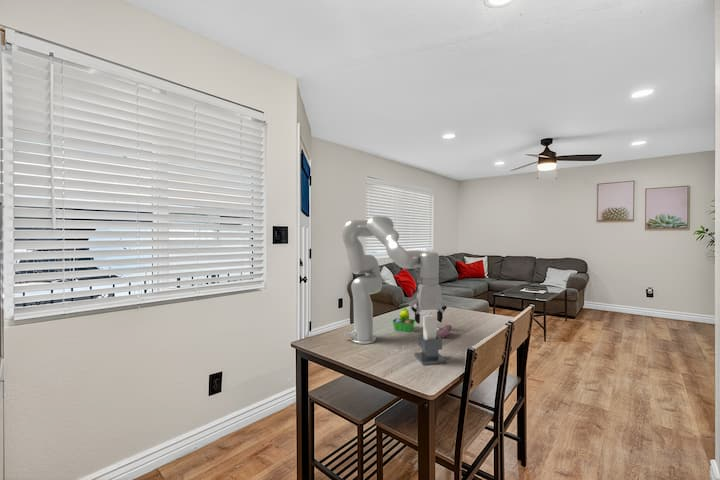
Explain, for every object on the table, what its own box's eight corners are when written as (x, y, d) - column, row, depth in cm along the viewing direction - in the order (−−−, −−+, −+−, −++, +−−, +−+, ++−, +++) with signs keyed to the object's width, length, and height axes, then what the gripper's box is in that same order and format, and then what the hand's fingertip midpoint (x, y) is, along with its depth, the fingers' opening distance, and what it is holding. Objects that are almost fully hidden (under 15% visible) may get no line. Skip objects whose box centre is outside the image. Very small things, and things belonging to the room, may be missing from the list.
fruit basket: (391, 330, 170) (391, 310, 170) (396, 326, 178) (396, 306, 178) (412, 333, 166) (412, 311, 165) (416, 328, 174) (415, 308, 173)
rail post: (427, 347, 129) (427, 318, 128) (423, 343, 133) (423, 315, 132) (436, 346, 129) (436, 317, 129) (432, 342, 133) (432, 315, 133)
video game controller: (443, 342, 156) (449, 330, 154) (435, 336, 158) (441, 325, 156) (448, 336, 164) (454, 325, 162) (441, 331, 166) (447, 320, 165)
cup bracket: (423, 365, 125) (422, 341, 125) (414, 355, 135) (414, 333, 135) (446, 363, 127) (446, 339, 127) (436, 353, 137) (436, 332, 137)
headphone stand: (436, 331, 167) (436, 309, 167) (425, 330, 170) (425, 308, 170) (439, 329, 171) (439, 307, 170) (429, 327, 174) (429, 306, 174)
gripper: (412, 283, 125) (411, 325, 126) (452, 282, 128) (451, 323, 129) (406, 280, 133) (406, 320, 133) (444, 279, 136) (443, 318, 136)
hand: (428, 322), depth 131 cm, fingers open, 9 cm apart
